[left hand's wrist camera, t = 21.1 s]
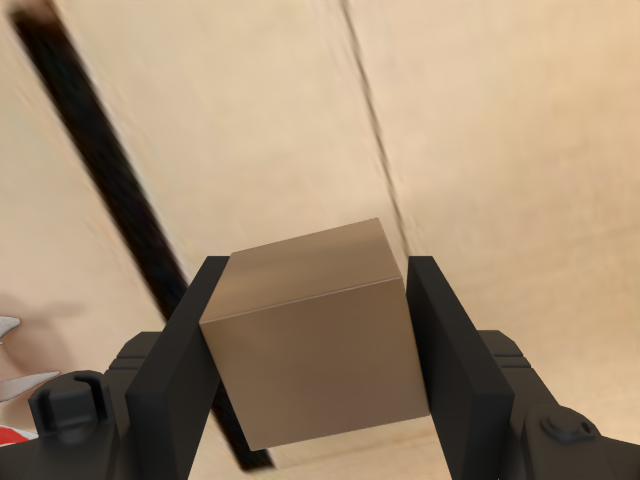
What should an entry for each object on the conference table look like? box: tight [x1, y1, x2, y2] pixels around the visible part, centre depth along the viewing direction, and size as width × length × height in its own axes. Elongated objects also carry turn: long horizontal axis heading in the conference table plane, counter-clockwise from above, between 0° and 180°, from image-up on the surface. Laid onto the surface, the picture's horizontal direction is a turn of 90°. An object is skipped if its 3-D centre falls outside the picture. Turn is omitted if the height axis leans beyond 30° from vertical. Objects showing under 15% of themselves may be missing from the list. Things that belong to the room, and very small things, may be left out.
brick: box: [199, 218, 431, 451], centre depth 13 cm, size 5×4×4 cm
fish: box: [0, 316, 59, 445], centre depth 25 cm, size 11×16×10 cm
